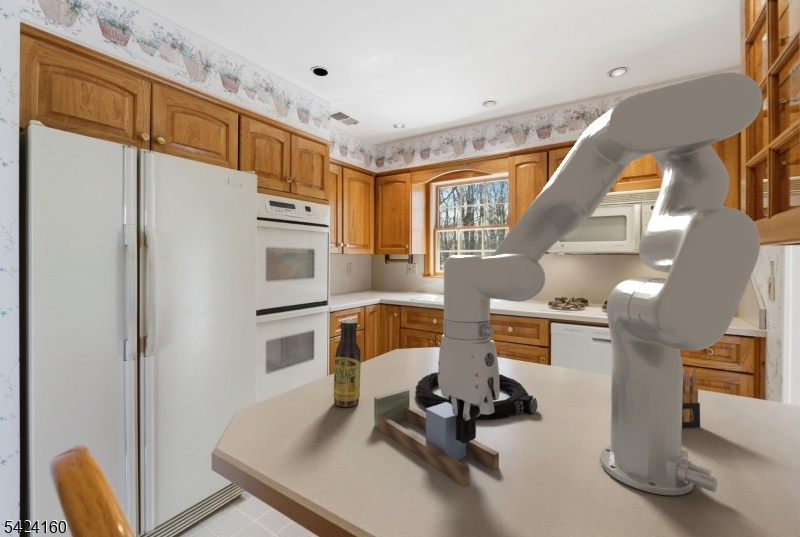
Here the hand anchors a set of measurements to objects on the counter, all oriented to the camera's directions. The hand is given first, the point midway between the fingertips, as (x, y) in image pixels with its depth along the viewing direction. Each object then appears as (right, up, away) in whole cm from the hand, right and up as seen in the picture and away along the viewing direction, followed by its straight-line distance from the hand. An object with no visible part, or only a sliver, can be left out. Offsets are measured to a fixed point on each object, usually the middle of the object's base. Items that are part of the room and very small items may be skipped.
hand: (465, 439), depth 61 cm
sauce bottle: (-24, -4, +27) cm, 36 cm away
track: (-5, -5, +7) cm, 10 cm away
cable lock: (+8, -5, +30) cm, 31 cm away
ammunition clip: (+45, -4, +15) cm, 48 cm away
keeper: (-3, -5, +4) cm, 7 cm away
